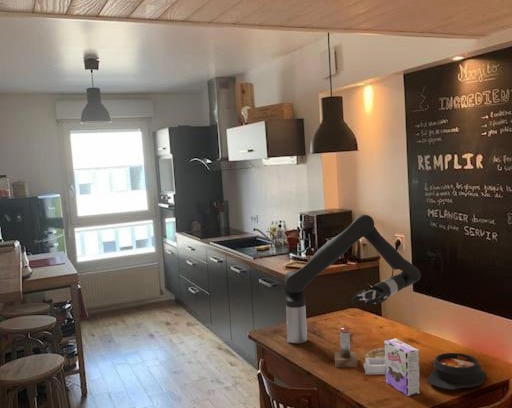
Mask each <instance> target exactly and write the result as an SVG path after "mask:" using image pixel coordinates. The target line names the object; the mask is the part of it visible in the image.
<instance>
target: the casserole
mask: <svg viewBox="0 0 512 408" xmlns="http://www.w3.org/2000/svg"><path fill="white" fill-rule="evenodd" d="M432 365H433V367H434V369H433V370H432V371H431V373H430V375H429V376H427V378H426V382H427V383H429V384H430V385H432V386H435V387H437V388H439V389H444V390H449V391H451V390H458V389H469V388H474V387H477V386H480V385H482V384H483V383H484V381H485V378H486V376H488V373H487V372H486V371H485V370H483V369H482V366H481V365H480V363H479V361H478V359H477V358H476V357H474V356H472V355H469V354H464V353H460V352H457V353H456V352H447V353H441V354H438V355H437V356H436V357H435V359H434V361H433V362H432Z"/></svg>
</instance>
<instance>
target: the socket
mask: <svg viewBox="0 0 512 408" xmlns="http://www.w3.org/2000/svg"><path fill="white" fill-rule="evenodd" d="M364 361H365V362H363V363H362V365H363V369H364V373H365V375H385V357H365V359H364Z"/></svg>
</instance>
